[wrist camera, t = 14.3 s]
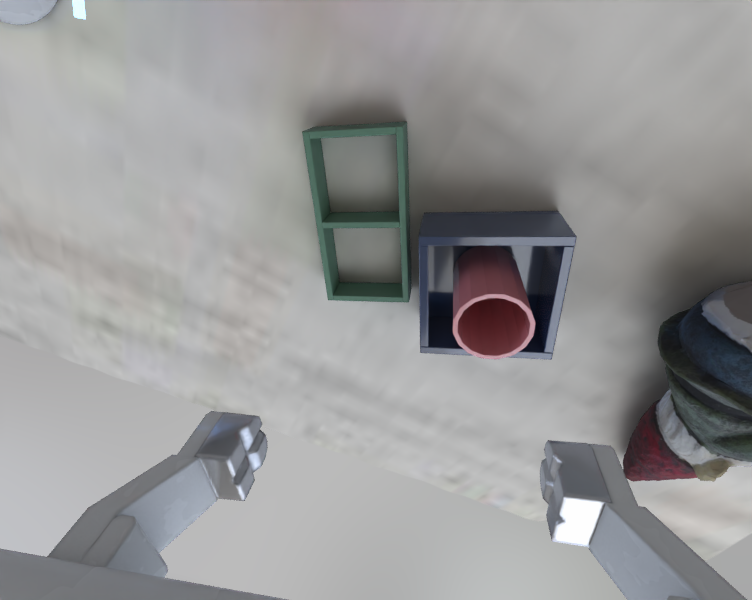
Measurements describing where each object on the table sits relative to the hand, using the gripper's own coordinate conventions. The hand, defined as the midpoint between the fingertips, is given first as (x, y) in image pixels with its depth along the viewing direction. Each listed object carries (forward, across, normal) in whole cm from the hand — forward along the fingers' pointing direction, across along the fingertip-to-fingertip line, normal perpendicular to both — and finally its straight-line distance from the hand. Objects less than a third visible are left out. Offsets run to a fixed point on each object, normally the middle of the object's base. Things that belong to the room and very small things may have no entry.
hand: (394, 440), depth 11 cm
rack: (+29, +7, +3) cm, 30 cm away
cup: (+28, -5, +9) cm, 30 cm away
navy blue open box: (+29, -5, +9) cm, 31 cm away
